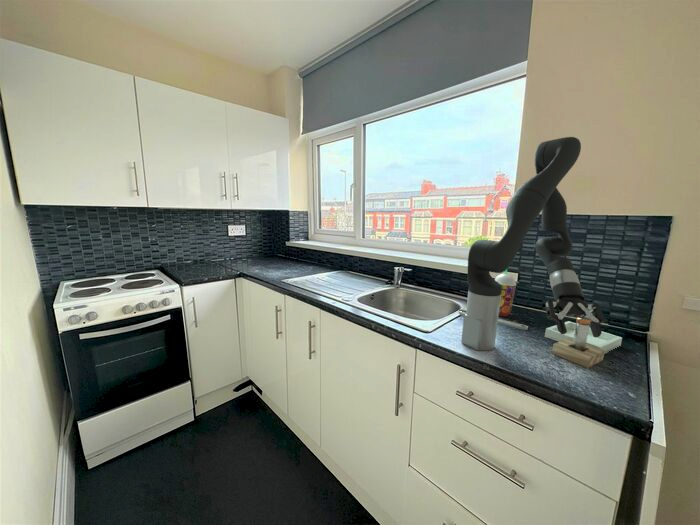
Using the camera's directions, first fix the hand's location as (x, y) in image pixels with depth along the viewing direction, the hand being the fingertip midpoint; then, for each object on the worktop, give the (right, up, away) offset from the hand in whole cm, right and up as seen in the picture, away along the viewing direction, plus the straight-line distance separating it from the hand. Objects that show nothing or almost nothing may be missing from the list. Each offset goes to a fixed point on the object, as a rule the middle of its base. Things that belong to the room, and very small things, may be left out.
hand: (580, 334), depth 82 cm
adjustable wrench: (-13, -2, +28) cm, 31 cm away
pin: (0, -7, +1) cm, 7 cm away
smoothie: (-5, -1, +35) cm, 35 cm away
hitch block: (0, -7, +1) cm, 7 cm away
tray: (+10, -5, +11) cm, 16 cm away
